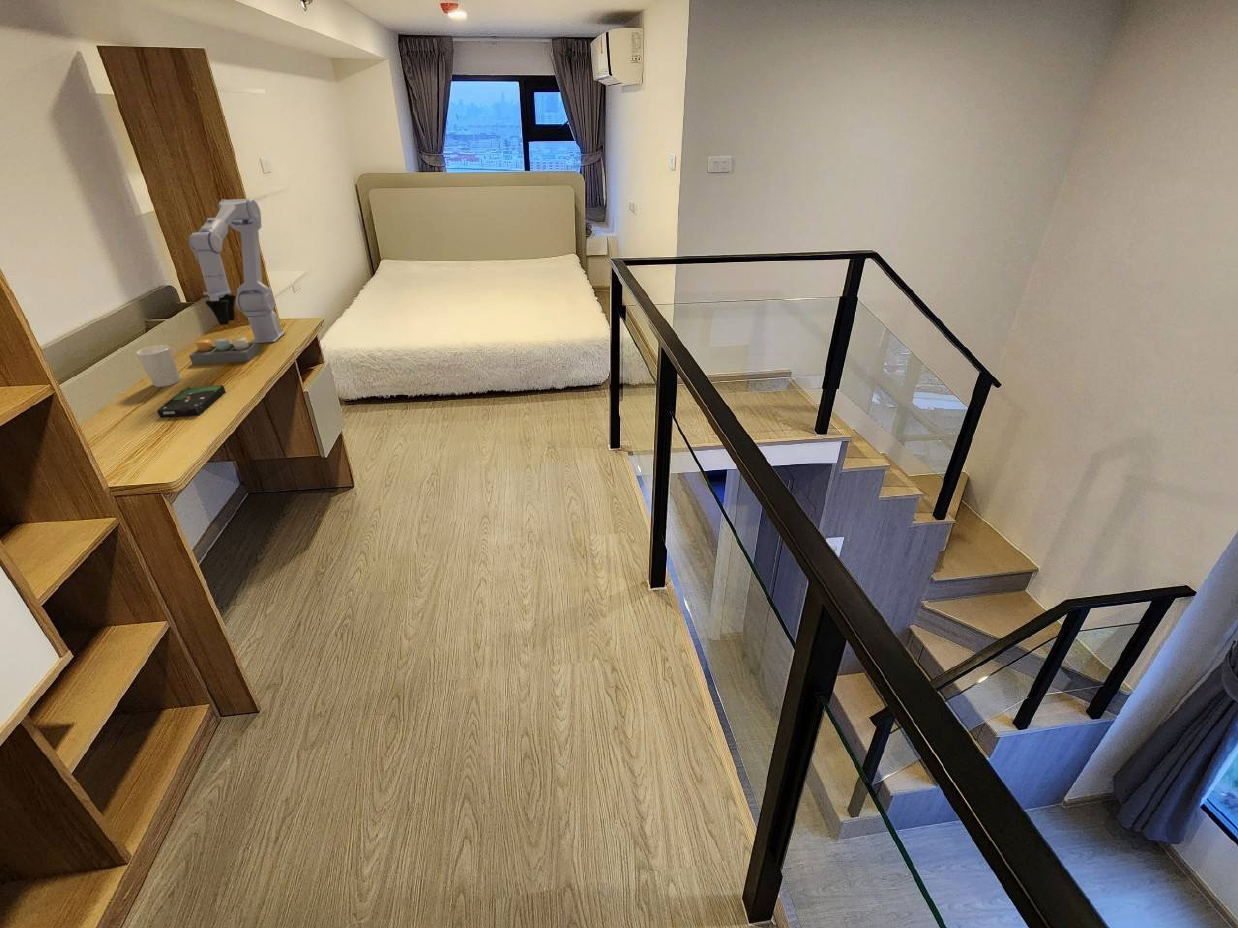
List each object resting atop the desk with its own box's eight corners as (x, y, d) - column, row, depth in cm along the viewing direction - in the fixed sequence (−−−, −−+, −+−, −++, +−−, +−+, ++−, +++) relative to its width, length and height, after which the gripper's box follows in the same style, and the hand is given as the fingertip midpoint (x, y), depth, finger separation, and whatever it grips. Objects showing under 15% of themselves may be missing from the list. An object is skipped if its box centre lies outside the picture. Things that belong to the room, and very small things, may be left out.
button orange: (202, 347, 198) (199, 339, 197) (215, 347, 199) (212, 339, 197) (196, 352, 195) (193, 344, 194) (209, 351, 195) (206, 343, 194)
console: (206, 354, 202) (203, 345, 201) (261, 351, 203) (258, 342, 201) (192, 364, 194) (188, 355, 193) (249, 361, 195) (245, 352, 194)
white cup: (189, 377, 186) (175, 344, 181) (170, 388, 179) (155, 354, 174) (164, 376, 187) (150, 344, 181) (144, 387, 180) (129, 354, 175)
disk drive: (201, 417, 163) (227, 393, 176) (197, 408, 162) (223, 384, 174) (160, 420, 163) (188, 395, 175) (155, 410, 161) (184, 386, 174)
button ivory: (238, 345, 199) (235, 337, 198) (251, 345, 199) (248, 337, 198) (232, 350, 195) (229, 342, 194) (246, 349, 196) (243, 341, 194)
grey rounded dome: (220, 346, 199) (217, 338, 197) (233, 346, 199) (230, 338, 197) (214, 351, 195) (211, 343, 194) (227, 350, 195) (224, 342, 194)
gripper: (205, 274, 190) (218, 319, 195) (191, 279, 177) (206, 327, 183) (231, 272, 192) (243, 317, 197) (220, 277, 179) (233, 325, 184)
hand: (227, 322), depth 190 cm, fingers open, 7 cm apart
